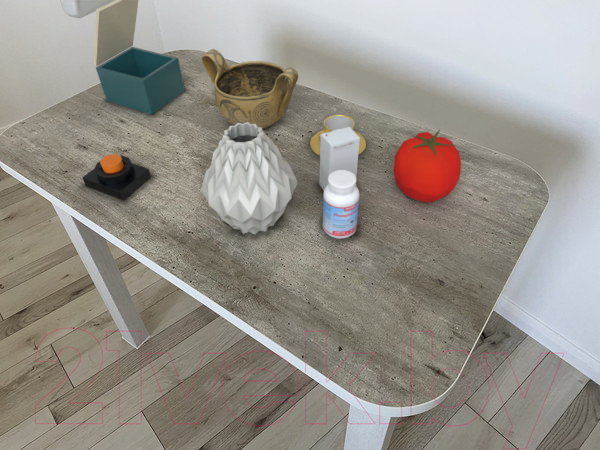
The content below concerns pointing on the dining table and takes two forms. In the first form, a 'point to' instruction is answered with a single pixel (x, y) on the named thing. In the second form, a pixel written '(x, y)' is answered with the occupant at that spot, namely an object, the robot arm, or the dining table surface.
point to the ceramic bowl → (250, 89)
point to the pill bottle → (340, 204)
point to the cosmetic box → (338, 153)
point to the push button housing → (118, 179)
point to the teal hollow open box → (141, 79)
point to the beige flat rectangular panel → (114, 29)
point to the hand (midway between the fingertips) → (112, 23)
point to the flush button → (112, 163)
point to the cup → (334, 124)
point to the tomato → (427, 167)
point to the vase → (248, 179)
